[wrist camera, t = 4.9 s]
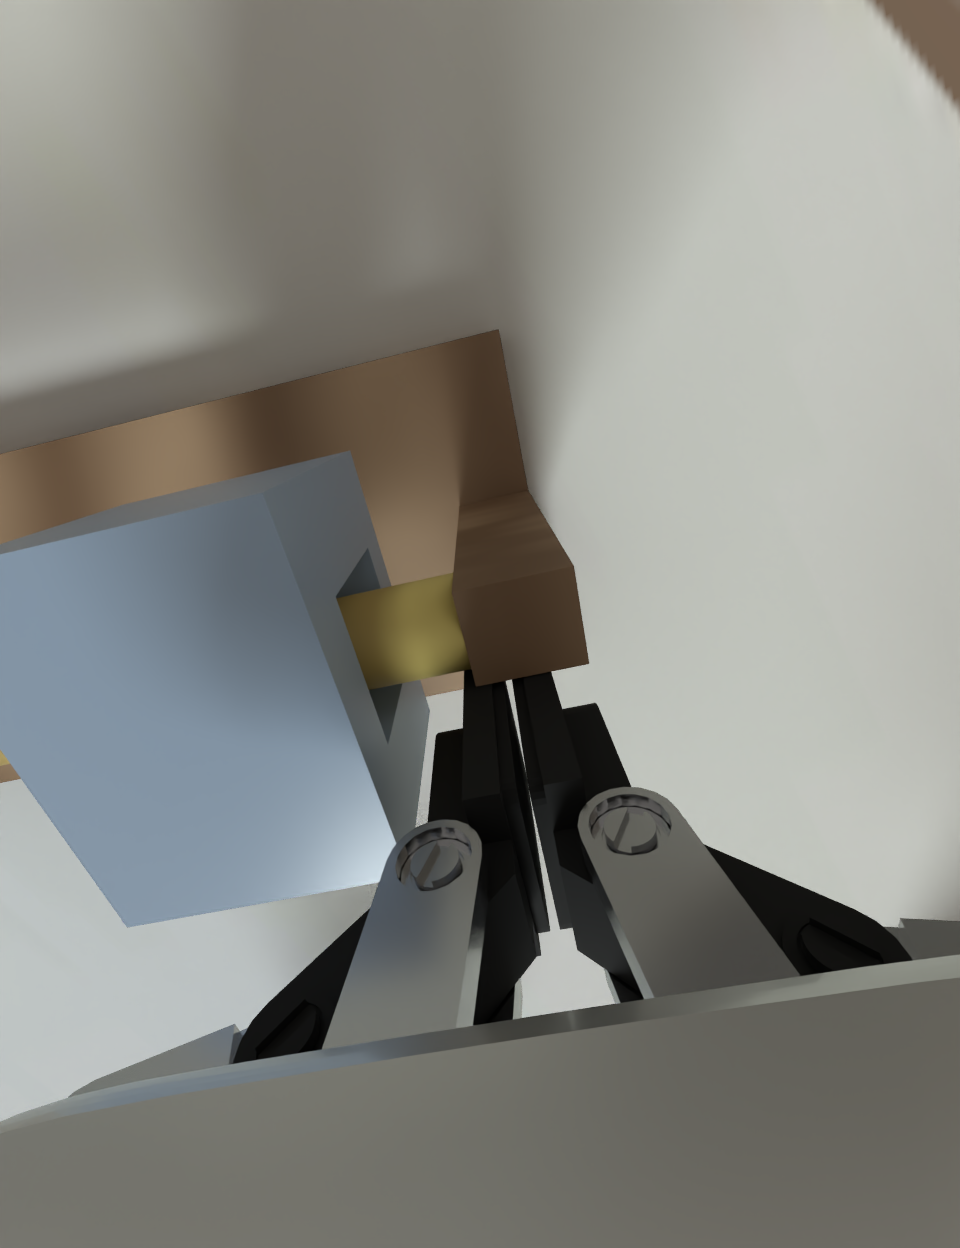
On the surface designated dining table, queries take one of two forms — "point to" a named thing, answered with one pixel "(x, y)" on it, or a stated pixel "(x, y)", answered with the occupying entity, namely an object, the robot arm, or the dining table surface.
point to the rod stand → (394, 493)
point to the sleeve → (209, 694)
